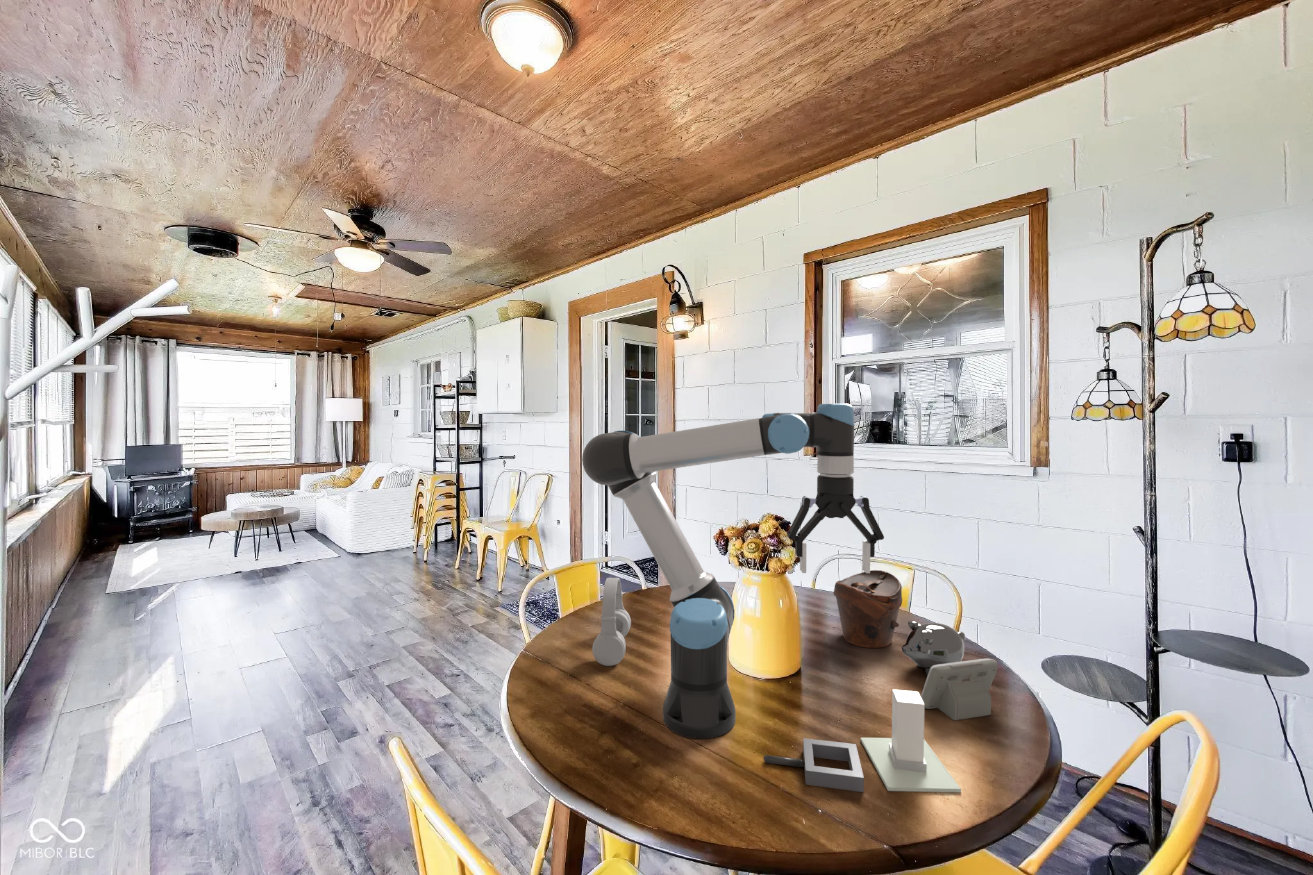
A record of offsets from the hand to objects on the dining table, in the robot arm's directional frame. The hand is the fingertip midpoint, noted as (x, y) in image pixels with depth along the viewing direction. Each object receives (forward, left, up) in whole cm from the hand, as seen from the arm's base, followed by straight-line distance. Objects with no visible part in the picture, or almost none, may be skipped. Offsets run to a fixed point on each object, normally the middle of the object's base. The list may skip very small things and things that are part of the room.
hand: (834, 571), depth 119 cm
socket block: (-11, -23, -29) cm, 38 cm away
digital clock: (+26, -3, -29) cm, 39 cm away
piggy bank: (+28, +14, -29) cm, 43 cm away
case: (+18, +32, -29) cm, 47 cm away
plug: (+7, -22, -28) cm, 36 cm away
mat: (+7, -22, -29) cm, 37 cm away
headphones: (-52, +24, -29) cm, 64 cm away
